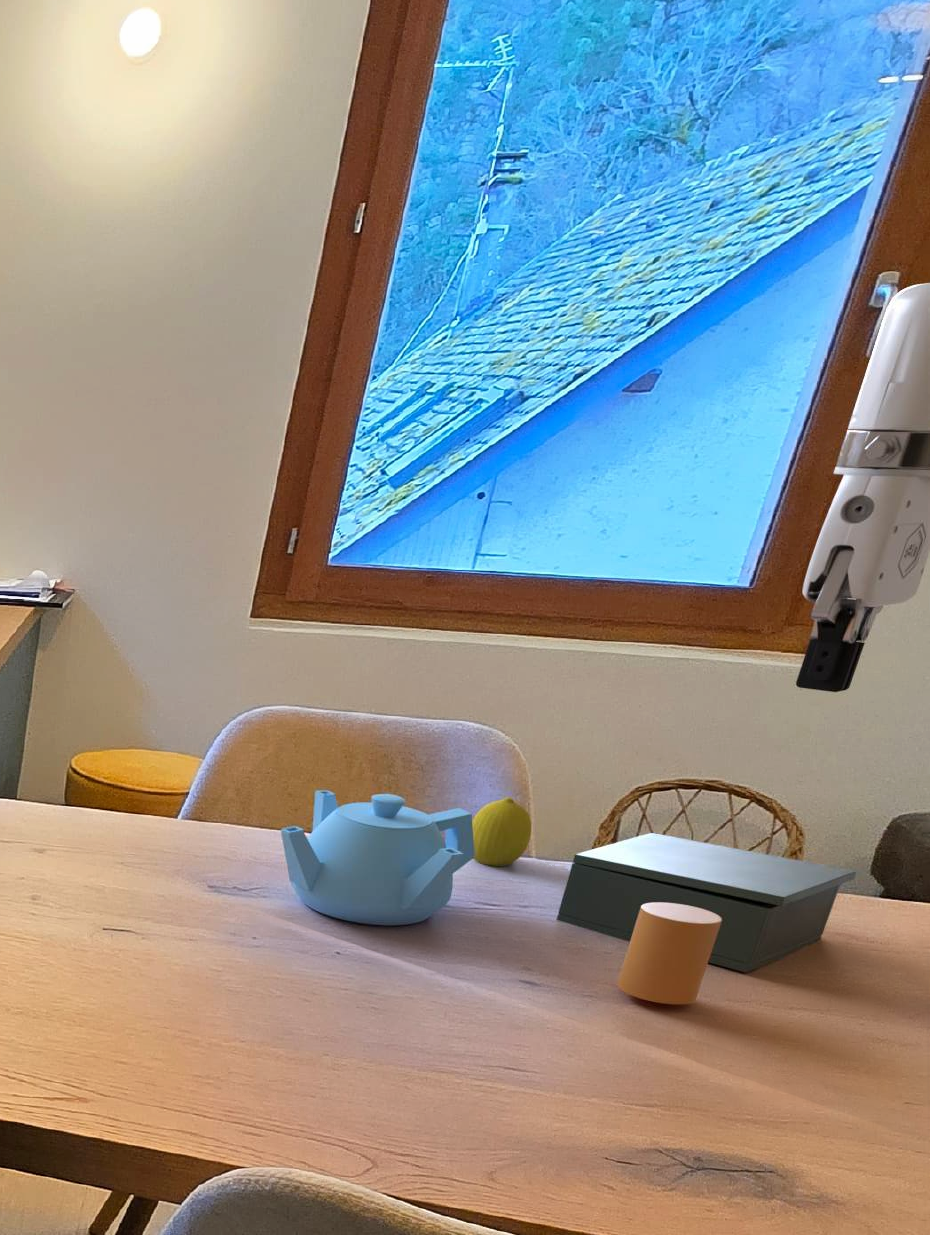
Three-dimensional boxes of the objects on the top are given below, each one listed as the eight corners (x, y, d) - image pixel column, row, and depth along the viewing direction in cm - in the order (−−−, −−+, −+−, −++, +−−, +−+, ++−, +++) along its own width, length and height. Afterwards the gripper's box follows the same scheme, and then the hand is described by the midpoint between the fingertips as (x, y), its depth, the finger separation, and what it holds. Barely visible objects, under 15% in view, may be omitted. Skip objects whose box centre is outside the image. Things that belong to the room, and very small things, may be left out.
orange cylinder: (707, 996, 116) (734, 916, 114) (676, 1009, 114) (703, 927, 111) (635, 975, 121) (660, 898, 118) (604, 988, 118) (628, 908, 115)
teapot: (438, 947, 128) (468, 833, 123) (262, 912, 136) (284, 804, 131) (464, 896, 139) (493, 790, 134) (300, 867, 147) (322, 766, 142)
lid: (854, 879, 126) (857, 870, 125) (781, 906, 118) (784, 897, 118) (648, 840, 139) (651, 832, 138) (572, 862, 131) (574, 854, 131)
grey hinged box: (819, 943, 129) (841, 882, 126) (746, 973, 121) (768, 909, 119) (631, 897, 141) (648, 840, 139) (555, 921, 134) (572, 862, 131)
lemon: (530, 879, 146) (551, 805, 143) (476, 880, 146) (496, 806, 143) (501, 861, 151) (520, 789, 148) (448, 862, 151) (467, 790, 148)
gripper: (922, 458, 105) (837, 704, 113) (996, 456, 113) (911, 688, 120) (802, 455, 111) (729, 690, 118) (880, 454, 119) (806, 675, 126)
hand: (821, 688), depth 119 cm, fingers closed
